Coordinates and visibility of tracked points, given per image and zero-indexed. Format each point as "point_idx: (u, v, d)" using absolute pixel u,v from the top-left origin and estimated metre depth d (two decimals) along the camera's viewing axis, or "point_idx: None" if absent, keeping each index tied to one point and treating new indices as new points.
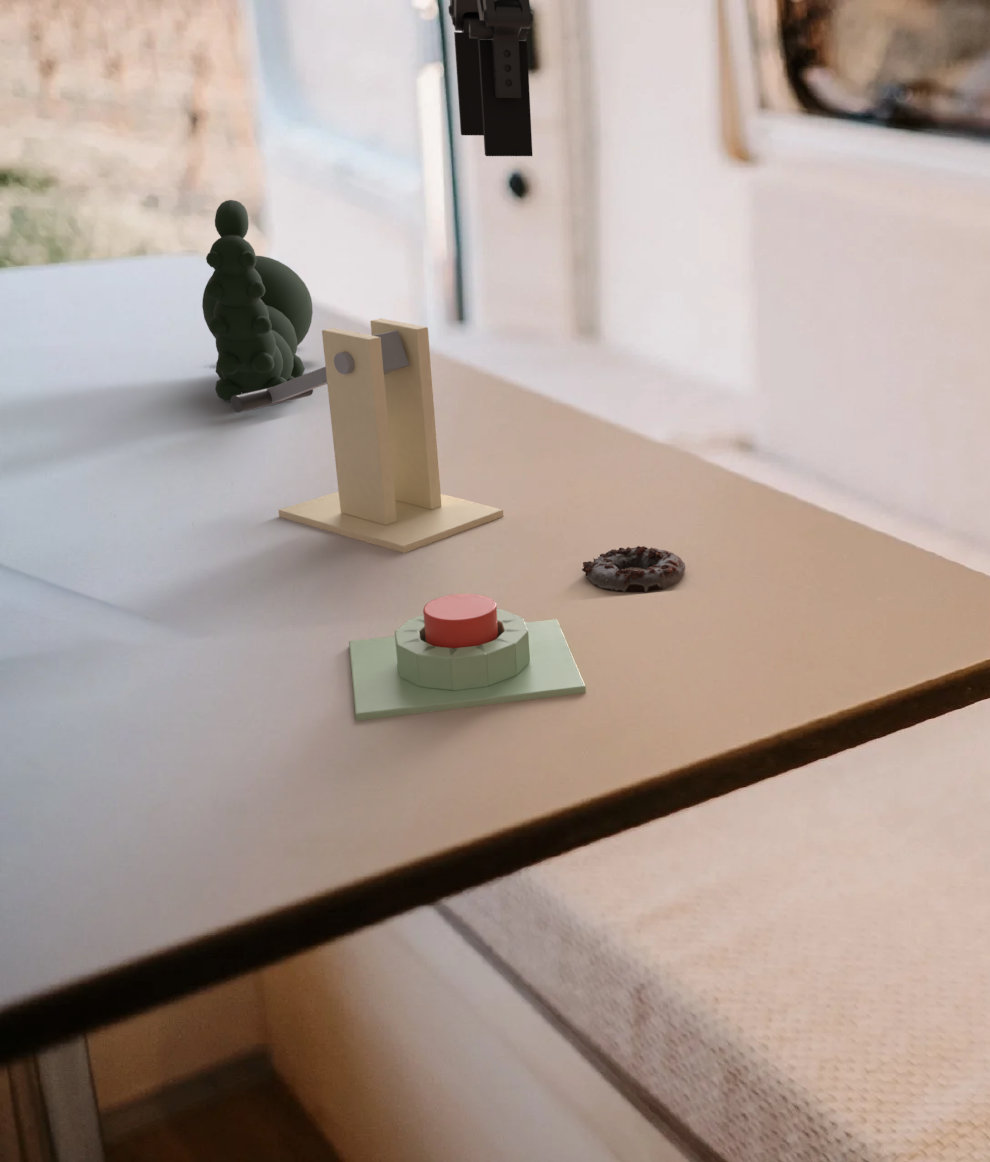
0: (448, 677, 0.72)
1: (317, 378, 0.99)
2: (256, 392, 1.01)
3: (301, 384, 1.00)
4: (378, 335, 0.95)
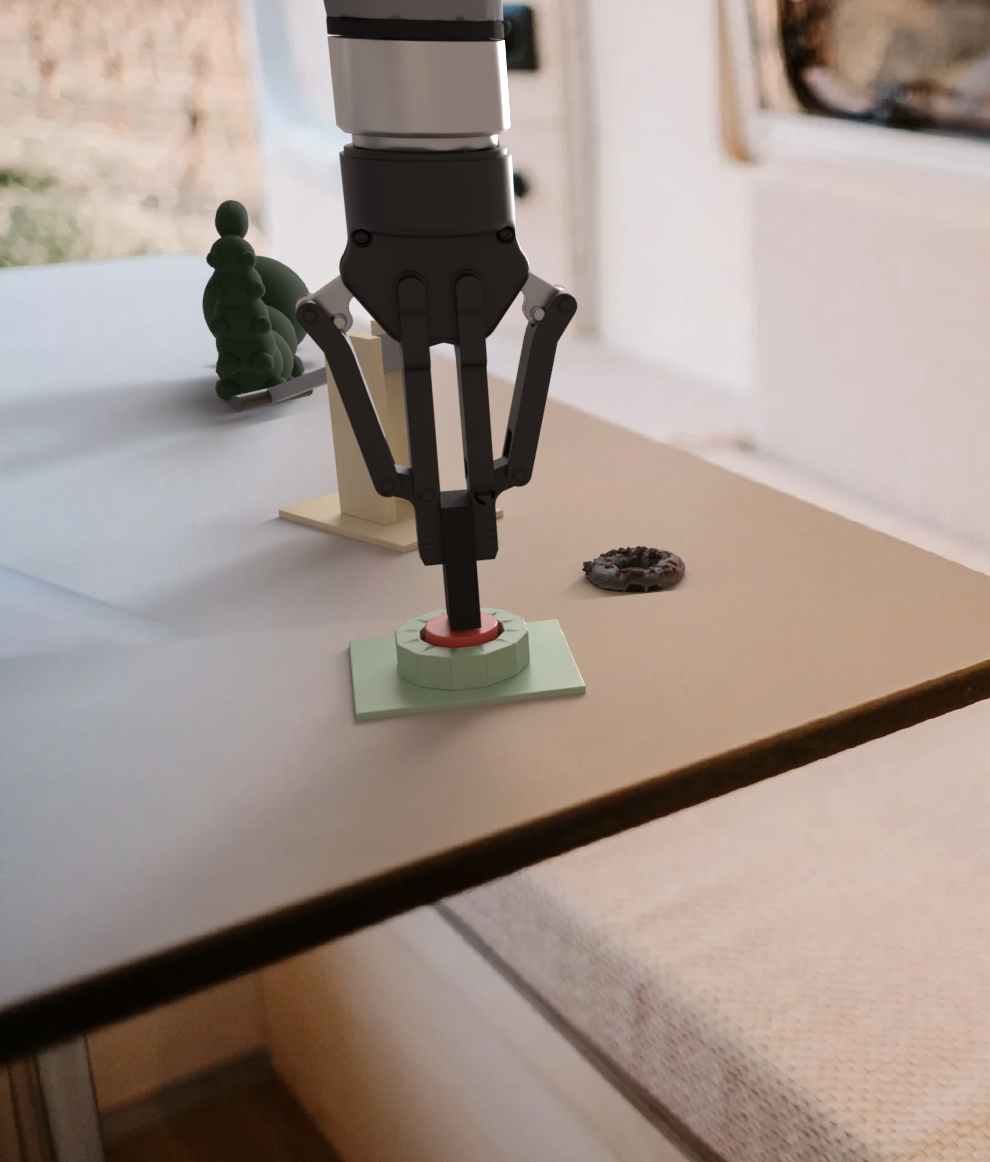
0: (448, 677, 0.72)
1: (317, 378, 0.99)
2: (256, 392, 1.01)
3: (301, 384, 1.00)
4: (378, 335, 0.95)
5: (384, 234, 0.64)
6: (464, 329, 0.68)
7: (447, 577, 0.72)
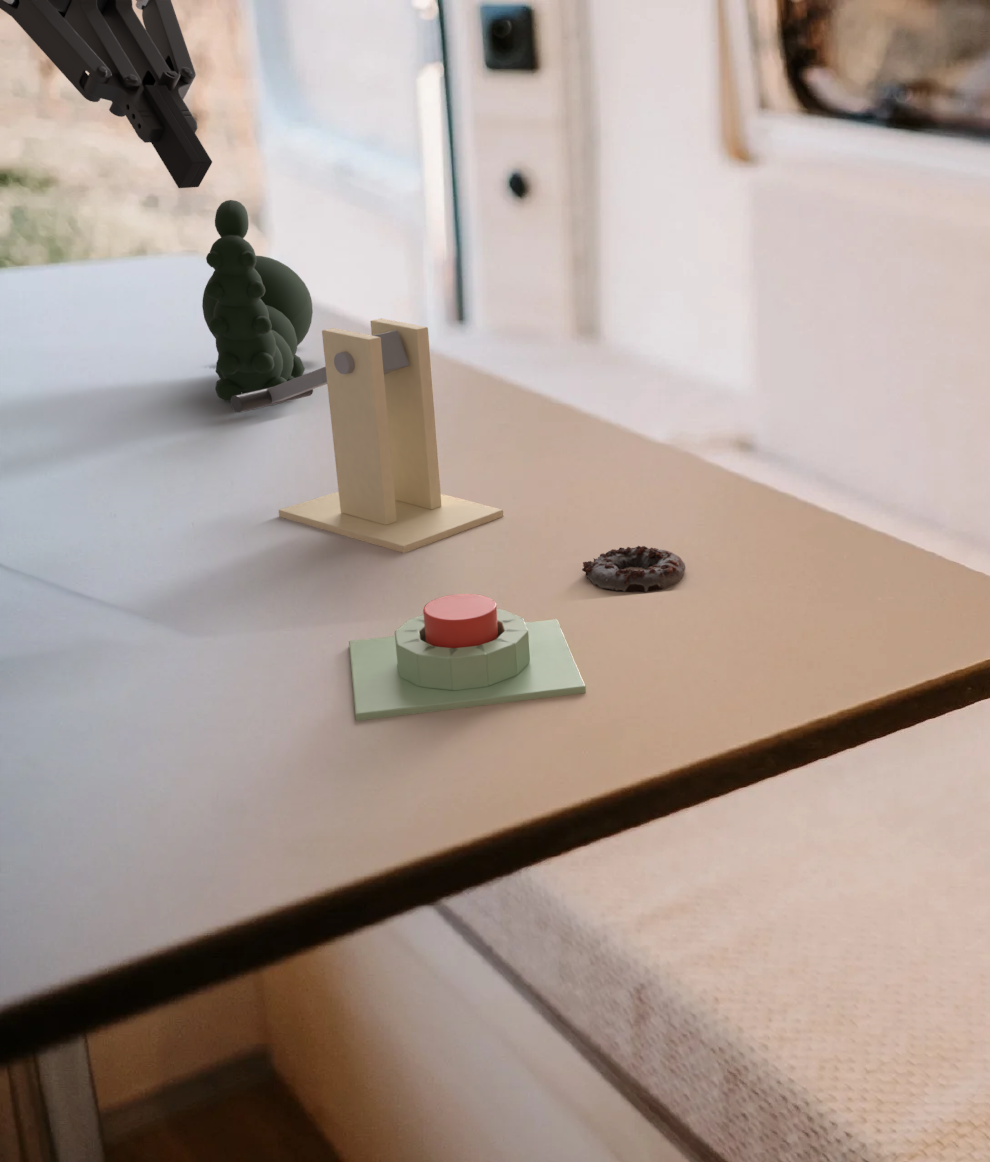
0: (448, 677, 0.72)
1: (317, 378, 0.99)
2: (256, 392, 1.01)
3: (301, 384, 1.00)
4: (378, 335, 0.95)
5: None
6: None
7: (171, 129, 0.99)
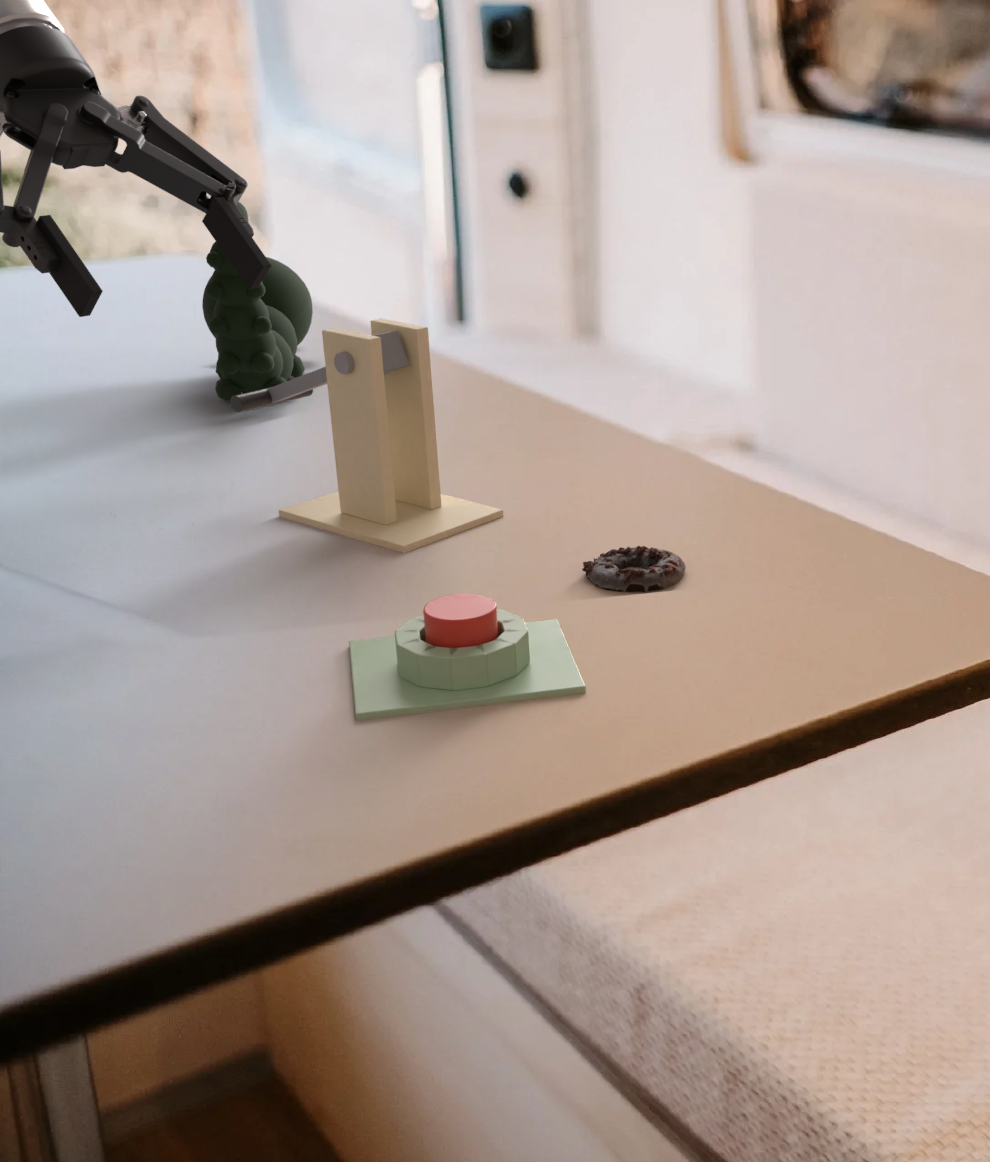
0: (448, 677, 0.72)
1: (317, 378, 0.99)
2: (256, 392, 1.01)
3: (301, 384, 1.00)
4: (378, 335, 0.95)
5: (27, 73, 1.02)
6: (116, 127, 1.06)
7: (69, 259, 0.98)
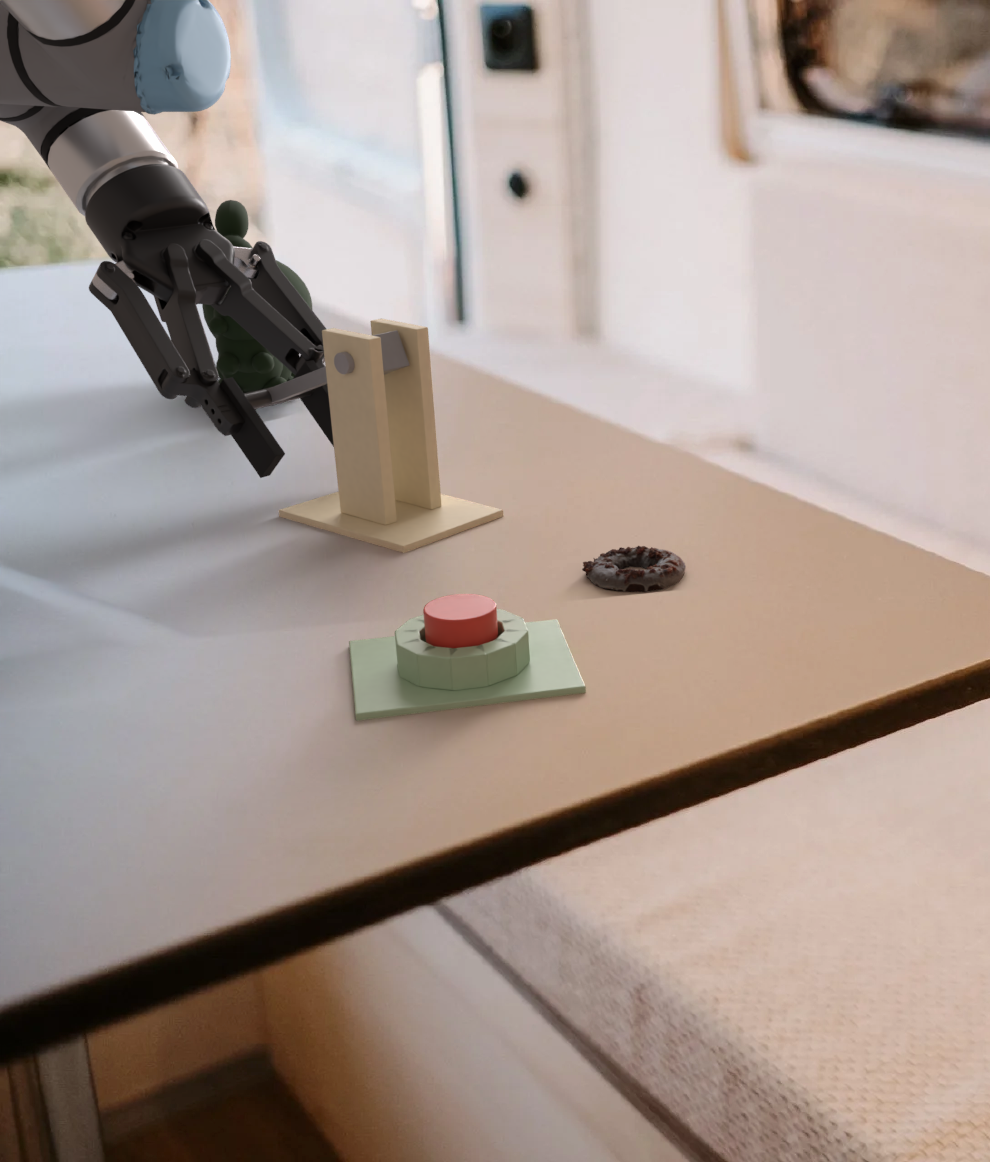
0: (448, 677, 0.72)
1: (317, 378, 0.99)
2: (256, 392, 1.01)
3: (301, 384, 1.00)
4: (378, 335, 0.95)
5: (145, 214, 1.00)
6: (225, 269, 1.04)
7: (252, 422, 0.99)
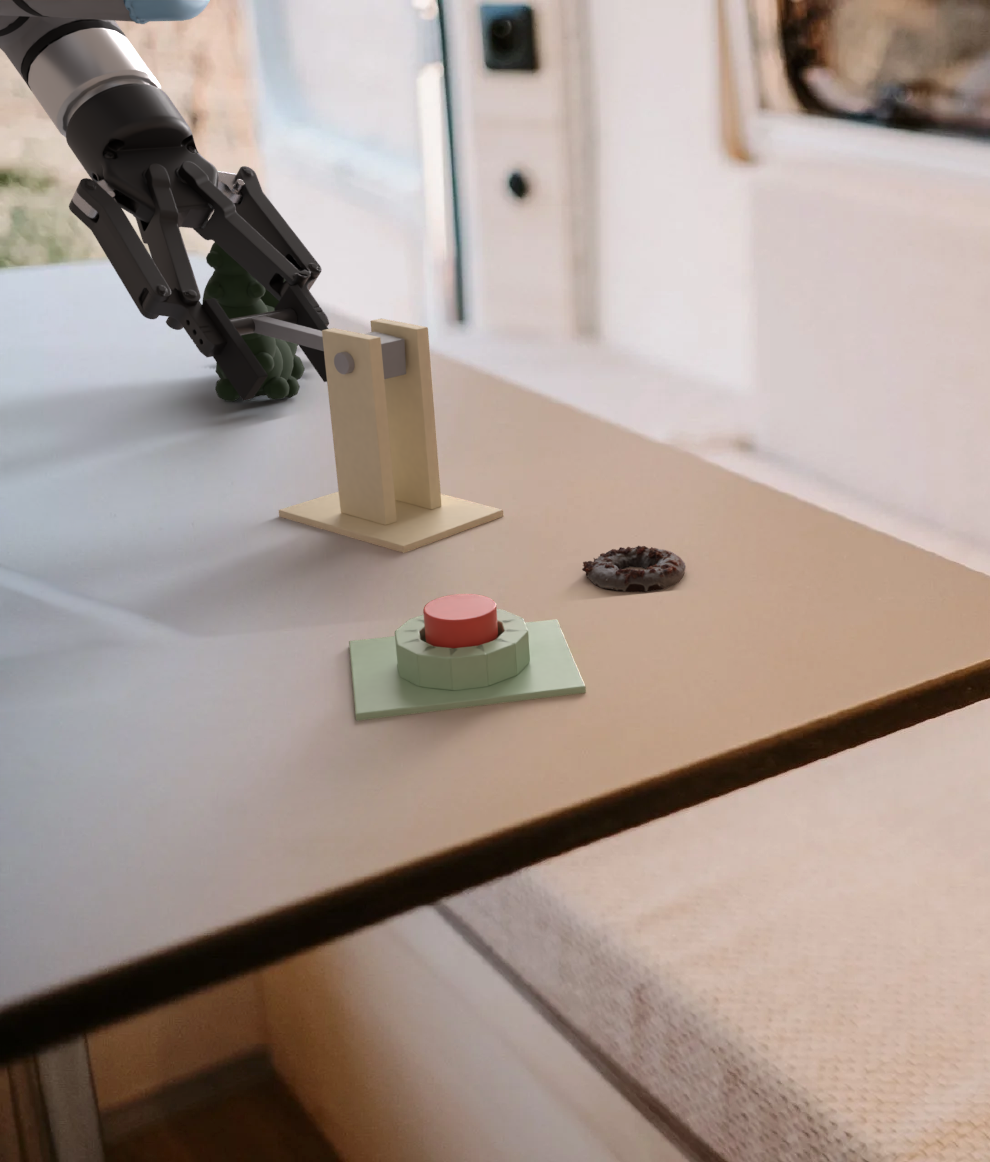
0: (448, 677, 0.72)
1: (309, 341, 0.98)
2: (241, 321, 1.00)
3: (290, 336, 0.99)
4: (385, 344, 0.95)
5: (127, 133, 0.99)
6: (208, 191, 1.02)
7: (235, 343, 0.97)
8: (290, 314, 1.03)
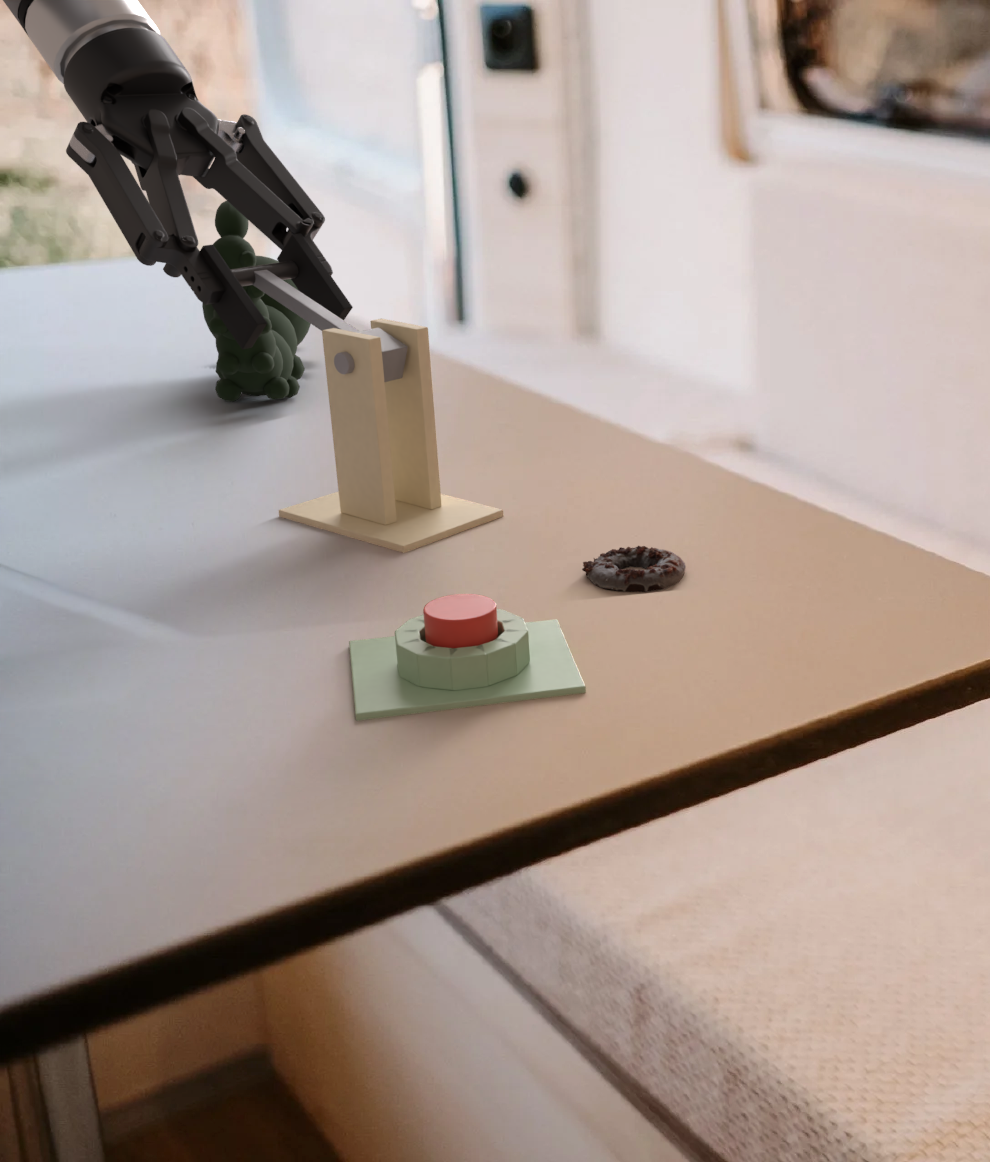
0: (448, 677, 0.72)
1: (309, 317, 0.97)
2: (243, 274, 0.98)
3: (291, 304, 0.98)
4: (388, 351, 0.95)
5: (126, 77, 0.97)
6: (208, 138, 1.01)
7: (233, 290, 0.96)
8: (291, 268, 1.02)
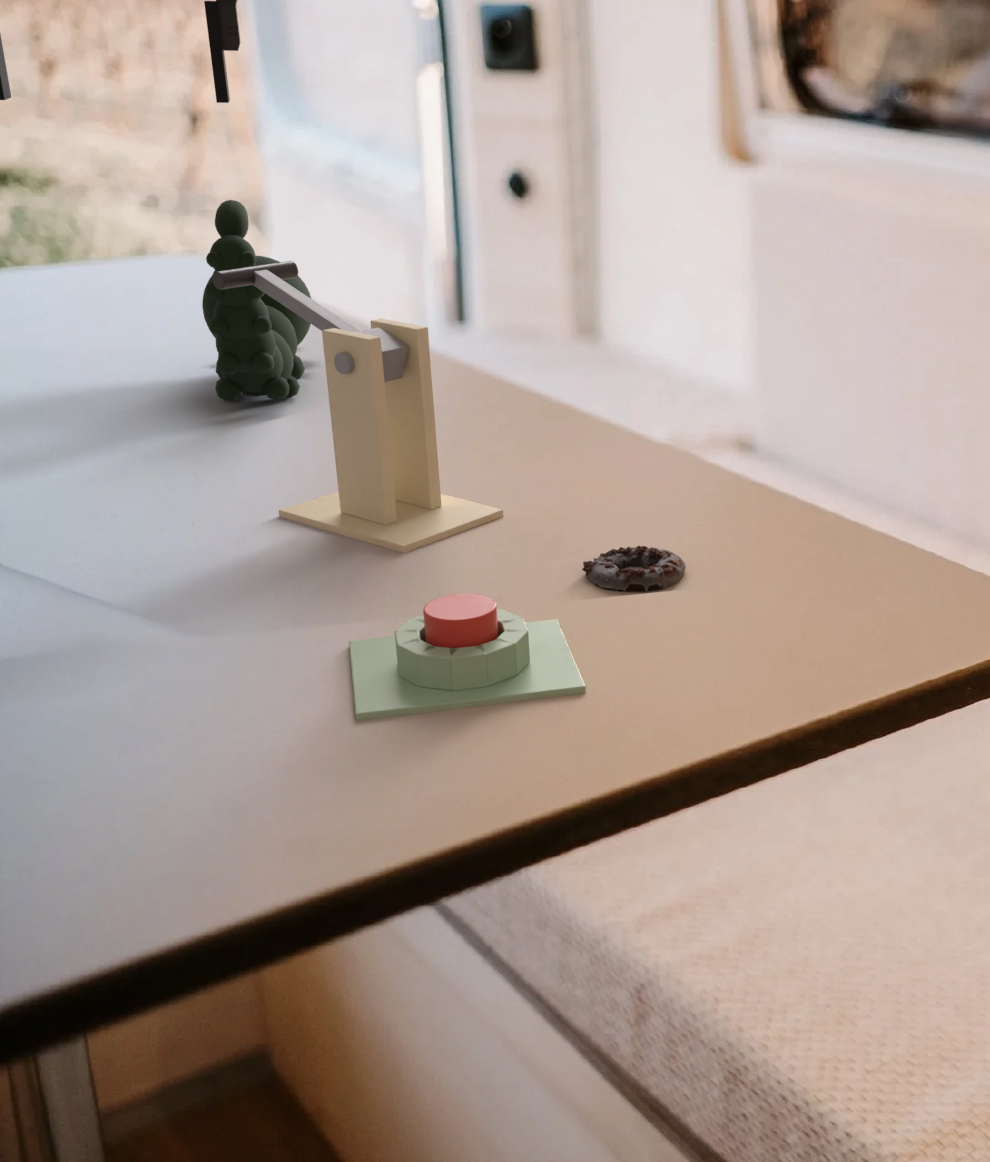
0: (448, 677, 0.72)
1: (309, 317, 0.97)
2: (243, 274, 0.98)
3: (291, 304, 0.98)
4: (388, 351, 0.95)
5: None
6: None
7: None
8: (291, 268, 1.02)
